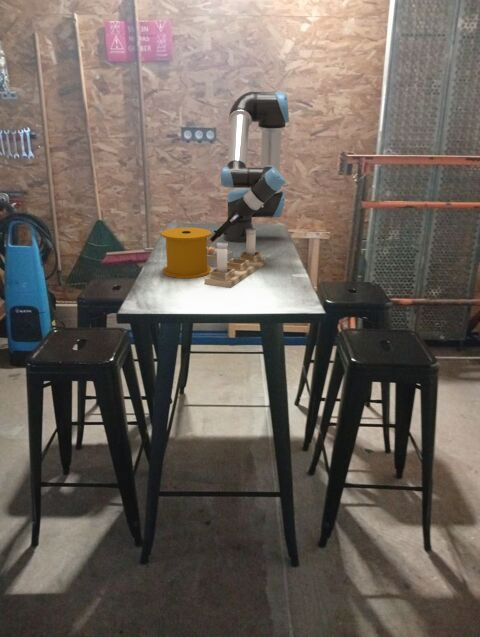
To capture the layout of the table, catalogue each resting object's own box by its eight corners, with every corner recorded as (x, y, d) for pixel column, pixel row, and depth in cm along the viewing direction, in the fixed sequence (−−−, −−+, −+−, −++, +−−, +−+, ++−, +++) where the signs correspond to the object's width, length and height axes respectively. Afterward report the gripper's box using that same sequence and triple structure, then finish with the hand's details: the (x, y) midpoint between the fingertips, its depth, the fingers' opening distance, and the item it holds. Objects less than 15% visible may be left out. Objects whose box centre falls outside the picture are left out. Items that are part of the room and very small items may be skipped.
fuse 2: (247, 257, 193) (248, 227, 189) (256, 258, 192) (257, 228, 187) (244, 260, 190) (244, 229, 186) (253, 261, 189) (253, 230, 184)
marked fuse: (221, 257, 194) (194, 245, 195) (223, 249, 191) (195, 237, 192) (217, 261, 191) (190, 250, 192) (219, 254, 188) (191, 242, 190)
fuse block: (242, 260, 197) (242, 249, 195) (265, 263, 193) (266, 252, 192) (204, 283, 168) (204, 271, 167) (230, 287, 165) (230, 275, 163)
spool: (213, 277, 175) (213, 236, 170) (163, 279, 173) (161, 238, 167) (208, 264, 192) (208, 226, 186) (162, 265, 189) (161, 227, 183)
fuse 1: (219, 275, 171) (219, 241, 167) (229, 276, 170) (229, 242, 165) (214, 278, 168) (214, 244, 164) (224, 279, 167) (224, 245, 162)
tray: (208, 257, 201) (208, 248, 199) (232, 260, 197) (233, 251, 195) (196, 264, 191) (195, 254, 190) (221, 267, 187) (221, 257, 186)
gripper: (251, 214, 174) (208, 256, 184) (260, 207, 190) (220, 246, 199) (237, 199, 173) (194, 241, 183) (247, 193, 189) (207, 232, 198)
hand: (208, 244), depth 191 cm, fingers open, 4 cm apart
